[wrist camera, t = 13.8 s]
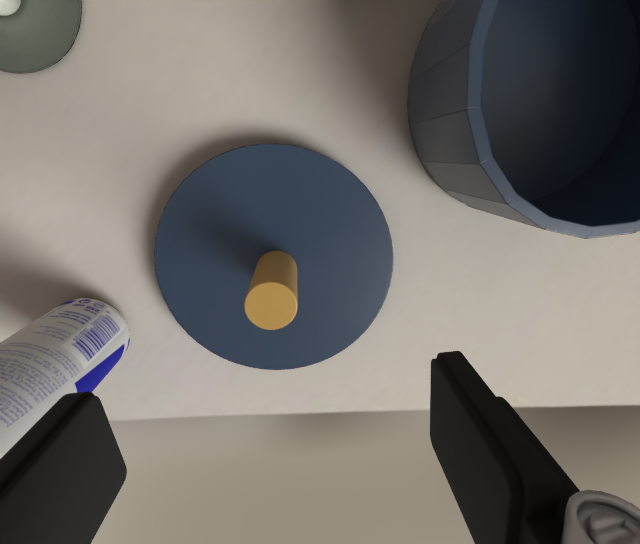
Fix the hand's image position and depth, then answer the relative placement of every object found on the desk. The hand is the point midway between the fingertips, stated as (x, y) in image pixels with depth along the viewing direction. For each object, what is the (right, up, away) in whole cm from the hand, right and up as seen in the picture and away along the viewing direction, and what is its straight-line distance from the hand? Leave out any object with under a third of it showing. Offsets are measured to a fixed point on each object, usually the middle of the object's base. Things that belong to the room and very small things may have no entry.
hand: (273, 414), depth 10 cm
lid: (-2, +4, +13) cm, 14 cm away
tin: (+14, +15, +11) cm, 23 cm away
